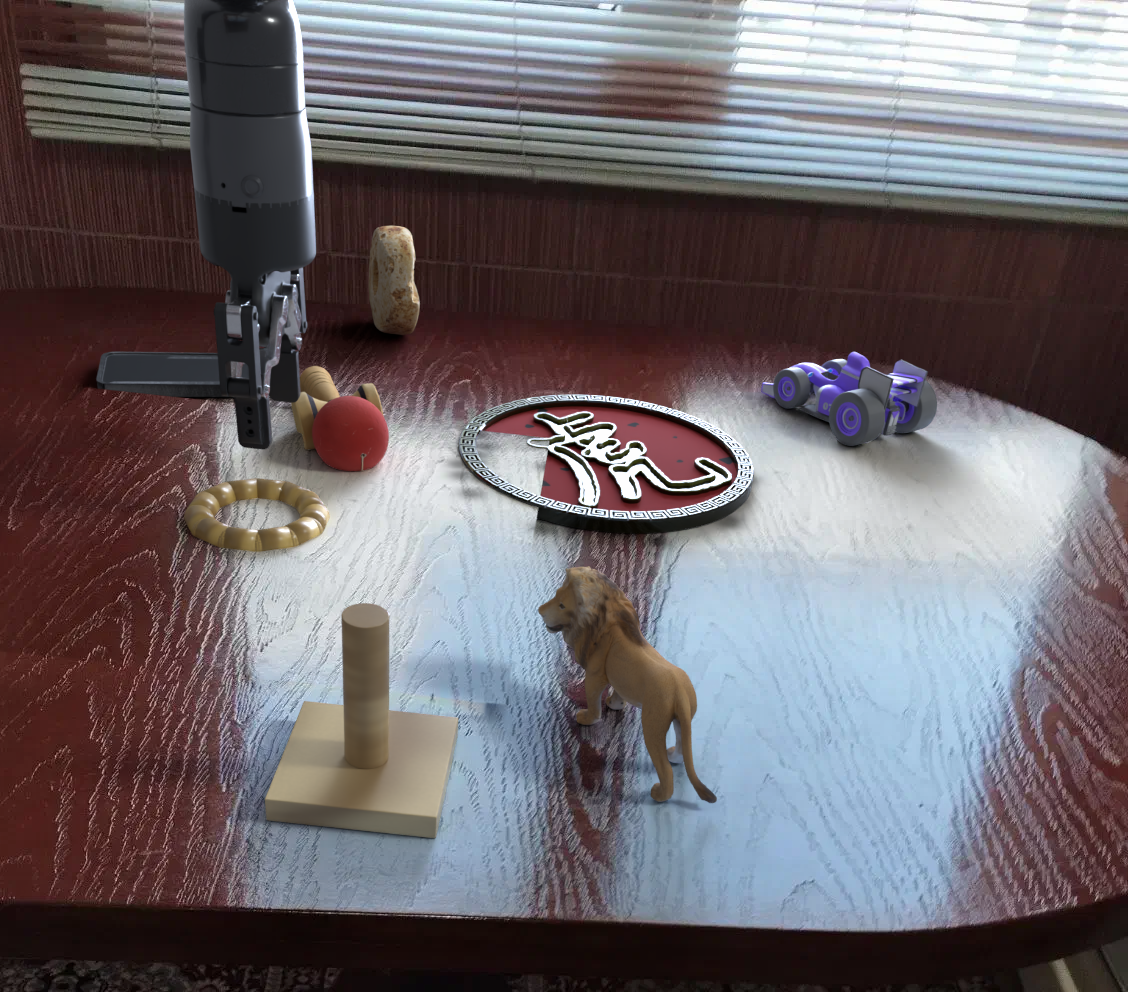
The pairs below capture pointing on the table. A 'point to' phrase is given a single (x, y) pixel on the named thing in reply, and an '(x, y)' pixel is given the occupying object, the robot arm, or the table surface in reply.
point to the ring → (227, 537)
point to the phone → (162, 373)
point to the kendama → (340, 422)
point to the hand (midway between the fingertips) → (271, 422)
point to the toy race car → (858, 397)
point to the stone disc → (393, 281)
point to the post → (364, 748)
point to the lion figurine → (626, 670)
